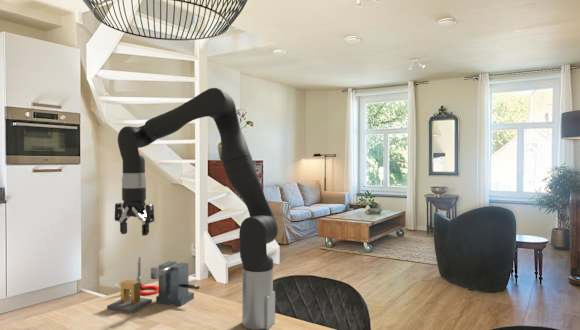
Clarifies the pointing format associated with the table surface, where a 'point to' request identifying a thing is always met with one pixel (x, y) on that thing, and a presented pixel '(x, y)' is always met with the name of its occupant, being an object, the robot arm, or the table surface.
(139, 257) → the tow hook
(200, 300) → the table surface
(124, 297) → the ochre slotted block
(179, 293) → the vise
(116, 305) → the rubber mat
